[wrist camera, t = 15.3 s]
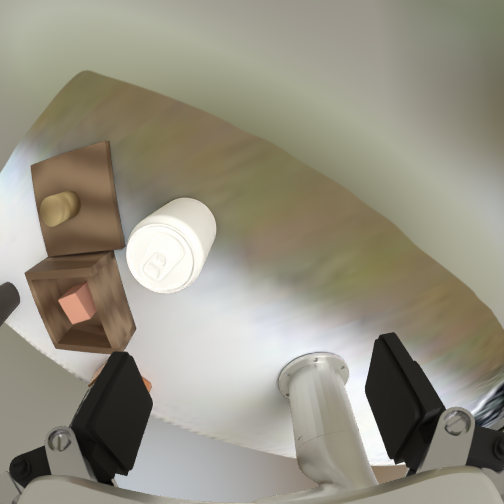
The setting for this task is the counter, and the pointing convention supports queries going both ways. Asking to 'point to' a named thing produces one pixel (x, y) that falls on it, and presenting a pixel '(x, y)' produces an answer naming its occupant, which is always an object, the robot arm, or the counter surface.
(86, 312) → the block
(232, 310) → the counter surface
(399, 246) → the counter surface
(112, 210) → the lid
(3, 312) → the coffee cup
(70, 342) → the box
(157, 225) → the beverage can
